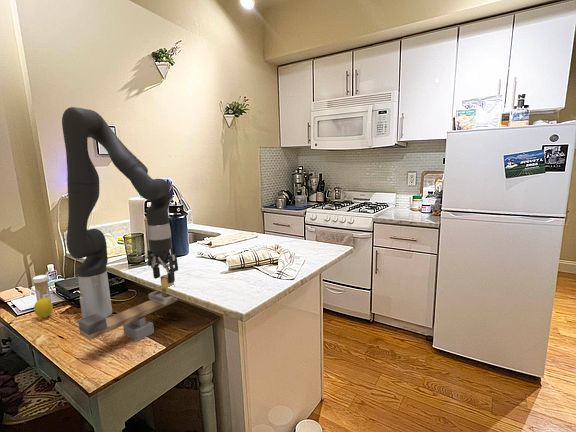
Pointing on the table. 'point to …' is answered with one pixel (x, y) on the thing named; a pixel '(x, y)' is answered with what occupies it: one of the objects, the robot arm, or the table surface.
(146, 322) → the beam stand
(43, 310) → the lemon
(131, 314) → the seesaw
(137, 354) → the table surface
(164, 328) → the table surface
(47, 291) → the sprinkles bottle
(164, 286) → the brass weight
